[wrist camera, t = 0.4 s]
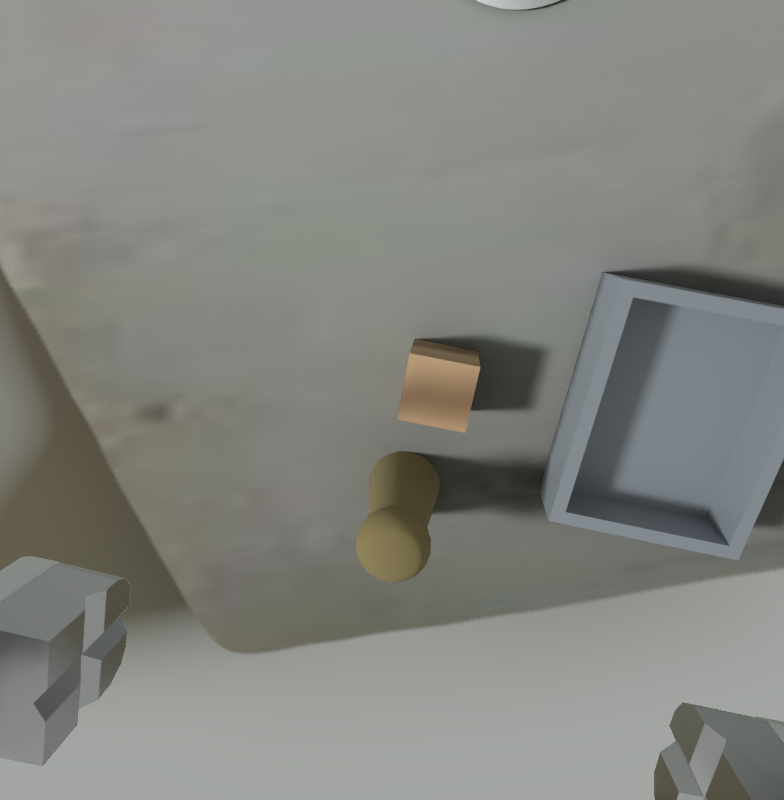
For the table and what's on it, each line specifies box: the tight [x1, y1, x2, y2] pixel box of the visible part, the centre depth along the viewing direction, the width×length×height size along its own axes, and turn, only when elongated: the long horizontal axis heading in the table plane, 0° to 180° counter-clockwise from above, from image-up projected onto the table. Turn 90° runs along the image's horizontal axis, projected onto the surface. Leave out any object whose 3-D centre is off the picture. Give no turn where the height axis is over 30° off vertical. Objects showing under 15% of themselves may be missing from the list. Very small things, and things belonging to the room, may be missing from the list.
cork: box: [356, 451, 440, 582], centre depth 42 cm, size 6×6×11 cm
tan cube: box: [397, 339, 480, 433], centre depth 41 cm, size 5×5×5 cm
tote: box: [539, 272, 784, 560], centre depth 40 cm, size 18×14×5 cm
